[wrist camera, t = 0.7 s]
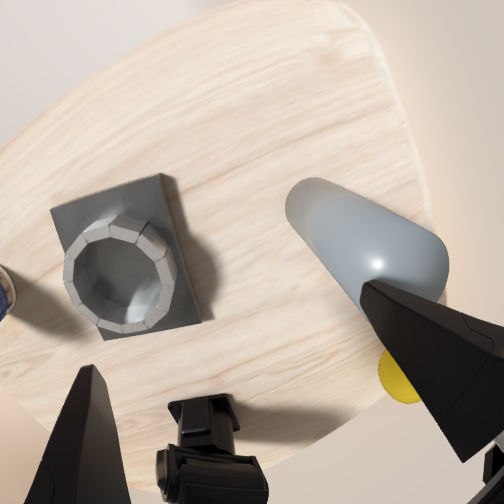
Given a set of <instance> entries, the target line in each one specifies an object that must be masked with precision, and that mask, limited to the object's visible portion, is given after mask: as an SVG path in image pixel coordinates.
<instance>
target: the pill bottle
mask: <svg viewBox="0 0 504 504" xmlns="http://www.w3.org/2000/svg"><path fill="white" fill-rule="evenodd" d="M15 300H16V294H15V289H14V285H13V283H12V280H11V279H10V277H9V275H8V274H7V272H6V271H5V270H4V269H3V268H2V267H1V266H0V322H1V321H2V319H3V318H4V317H5V316H6V315H7V314H8V313H9V311H10V310H11V309H12V308H13V306H14V304H15Z"/></svg>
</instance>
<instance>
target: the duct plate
mask: <svg viewBox="0 0 504 504" xmlns="http://www.w3.org/2000/svg"><path fill="white" fill-rule="evenodd" d="M50 212H51V215H52V218H53V221H54V224H55V227H56V230H57V233H58V236H59V239H60V241H61V244H62V247H63V250H64V252H65V258H64V271H63V281H64V282H63V283H64V285H65V287H66V290H67V292H68V294H69V296H70V299H71V301H72V303H73V305H74V306H76V309H77V310H78V311H79V312H81V313H82V314H83V315H84V316H85V317H86V318H87V319H89V320H90V321H91V322H92V323H93V324H94V325H96V326H97V328H98V330H99V332H100V334H101V336H102V338H103V339H104V341H106V340H112V339H118V338H124V337H130V336H136V335H141V334H147V333H153V332H158V331H163V330H169V329H174V328H179V327H184V326H189V325H194V324H199V323H202V314H201V311H200V308H199V305H198V302H197V299H196V296H195V293H194V290H193V286H192V283H191V280H190V277H189V274H188V270H187V267H186V264H185V260H184V257H183V254H182V250H181V247H180V244H179V240H178V237H177V233H176V230H175V226H174V222H173V219H172V215H171V212H170V208H169V204H168V200H167V197H166V193H165V189H164V185H163V181H162V177H161V173H157V174H154V175H150V176H147V177H143V178H140V179H136V180H133V181H130V182H126V183H123V184H120V185H116V186H113V187H110V188H107V189H104V190H101V191H98V192H95V193H92V194H89V195H86V196H83V197H80V198H77V199H74V200H71V201H68V202H66V203H63V204H60V205H57V206H55V207H54V208H52V209H50Z"/></svg>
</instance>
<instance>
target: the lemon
mask: <svg viewBox="0 0 504 504" xmlns="http://www.w3.org/2000/svg"><path fill="white" fill-rule="evenodd" d="M378 374H379V378H380V381H381V384H382V386H383V388H384V389H385V390H386V392H387V393H388V394H389V395H390V396H391V397H392V398H394V399H395V400H397V401H399V402H402V403H405V404H411V403H416V402H419V401H421V398H420V397H419V395H418V394H417V392H416V391H415V389H414V388H413V386H412V385H411V383H410V382H409V381H408V379H407V378H406V376H405V375H404V373H403V372H402V370H401V369H400V368H399V366H398V365H397V363H396V362H395V360H394V359H393V358H392V356H391V355H390V353H389V352H388V350H386V351H385V352H384V353H383V355H382V356H381V358H380V361H379V366H378Z"/></svg>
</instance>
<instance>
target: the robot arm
mask: <svg viewBox="0 0 504 504" xmlns="http://www.w3.org/2000/svg"><path fill="white" fill-rule="evenodd" d="M359 302H360V306H361V308H362V310H363V311H364V313H365V315H366V317H367V318H368V320H369V322H370V323H371V325H372V327H373V329H374V330H375V332H376V334H377V336H378V337H379V339H380V340H381V342H382V343H383V345H384V346H385V348H386V349H387V350H388V352H389V353H390V355H391V356H392V358H393V359H394V360H395V362H396V363H397V365H398V366H399V368H400V369H401V370H402V372H403V373H404V375H405V376H406V378H407V379H408V381H409V382H410V383H411V385H412V386H413V388H414V389H415V391H416V392H417V394H418V395H419V397H420V398H421V400H422V401H423V403H424V404H425V406H426V407H427V409H428V410H429V412H430V413H431V415H432V416H433V418H434V419H435V421H436V422H437V423H438V426H439V427H440V429H441V430H442V432H443V433H444V435H445V437H446V438H447V440H448V441H449V443H450V445H451V446H452V447H453V449H454V451H455V453H456V454H457V456H458V457H459V459H460V461H461V462H462V463H464V462H466V461H467V460H468V459H470V458H471V457H472V456H474V455H475V454H476V453H478V452H479V451H480V450H481V449H483V448H484V447H485V446H486V445H487V444H489V443H490V442H491V441H492V440H494V442H495V444H494V445H493V446H492V447H491V448H490V449H489V450H488V451H487V453H486V454H485V461H484V473H483V481H484V483H485V484H486V485H485V487H484V488H483V489H482V490H481V491H480V492H479V493H478V494H477V495H476V496H475V497H474V498H472V499H471V500H470V502H468V503H467V504H504V327H502V326H499V325H496V324H492V323H489V322H486V321H483V320H480V319H477V318H475V317H472V316H469V315H467V314H464V313H462V312H461V313H460V312H459V311H456V310H454V309H451V308H449V307H446V306H444V305H441V304H438V303H436V302H433V301H431V300H428V299H425V298H423V297H420V296H418V295H415V294H412V293H410V292H407V291H404V290H402V289H399V288H397V287H394V286H391V285H389V284H386V283H383V282H381V281H378V280H375V279H371V280H369V281H366V282H364V283H363V285H362V289H361V294H360V299H359ZM223 398H224V399H223ZM172 406H173V407H172ZM168 409H169V411H170V413H171V414H172V416H173V418H174V419H175V421H176V423H177V424H178V444H177V446H175V445H174V444H169V443H168V446H167V448H166V449H164V450H160V451H157V454H156V480H157V485H158V487H159V488H160V490H161V494H162V497H163V501H164V502H169V504H267V501H268V497H269V488H268V483H267V481H266V478H265V476H264V474H263V472H262V470H261V468H260V465H259V463H258V461H257V459H256V457H255V456H240V455H235V446H234V437H233V432H235V431H239V430H240V425H239V423H238V420H237V418H236V415H235V413H234V411H233V408H232V406H231V403H230V401H229V398H228V396H227V395H226V394H220V395H215V396H209V397H203V398H197V399H190V400H184V401H176V402H170V403H168ZM42 460H43V461H41V462H40V465H39V467H38V470H37V473H36V475H35V478H34V480H33V483H32V486H31V488H30V490H29V493H28V495H27V497H26V499H25V502H24V504H131V500H130V496H129V492H128V487H127V483H126V478H125V473H124V468H123V462H122V457H121V451H120V445H119V439H118V433H117V428H116V423H115V419H114V415H113V411H112V407H111V403H110V398H109V394H108V389H107V385H106V382H105V380H104V378H103V377H102V375H101V374H100V372H99V371H98V369H97V368H96V367H95V366H94V365H93V364H91V365H86V366H82V367H81V368H80V370H79V372H78V374H77V376H76V378H75V381H74V383H73V385H72V387H71V389H70V391H69V394H68V396H67V398H66V400H65V403H64V405H63V407H62V409H61V412H60V414H59V416H58V419H57V421H56V424H55V426H54V428H53V431H52V433H51V436H50V438H49V441H48V443H47V446H46V449H45V451H44V454H43V457H42Z"/></svg>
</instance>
